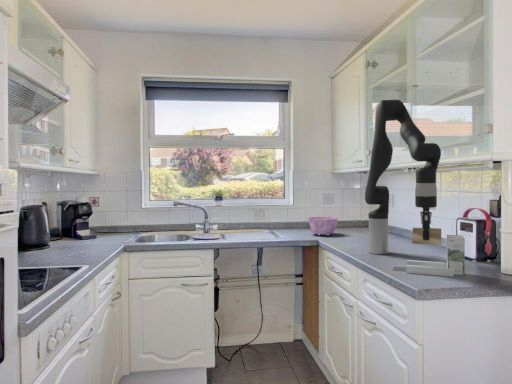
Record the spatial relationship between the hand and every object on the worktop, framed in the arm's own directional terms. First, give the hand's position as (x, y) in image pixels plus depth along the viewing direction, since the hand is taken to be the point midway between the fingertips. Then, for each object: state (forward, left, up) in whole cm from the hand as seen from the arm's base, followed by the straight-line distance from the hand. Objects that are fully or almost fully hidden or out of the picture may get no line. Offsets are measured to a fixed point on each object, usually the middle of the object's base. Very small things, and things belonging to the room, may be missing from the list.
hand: (426, 239), depth 140 cm
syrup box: (0, +10, -13) cm, 16 cm away
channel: (0, -1, -13) cm, 13 cm away
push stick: (0, 0, -2) cm, 2 cm away
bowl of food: (-87, -62, -13) cm, 108 cm away
